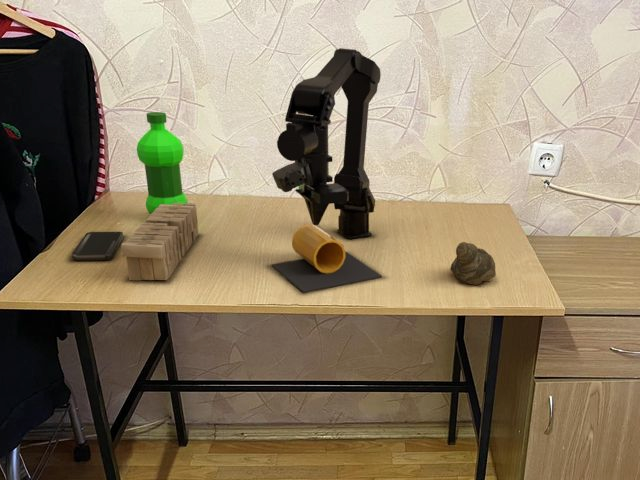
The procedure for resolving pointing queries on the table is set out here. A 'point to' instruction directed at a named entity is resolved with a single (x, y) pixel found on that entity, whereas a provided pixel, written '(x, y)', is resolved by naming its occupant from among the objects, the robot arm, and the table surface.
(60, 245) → the table surface
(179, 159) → the plastic bottle
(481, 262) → the seashell
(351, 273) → the mat
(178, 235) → the block tower
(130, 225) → the table surface
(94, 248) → the phone
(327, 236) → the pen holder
